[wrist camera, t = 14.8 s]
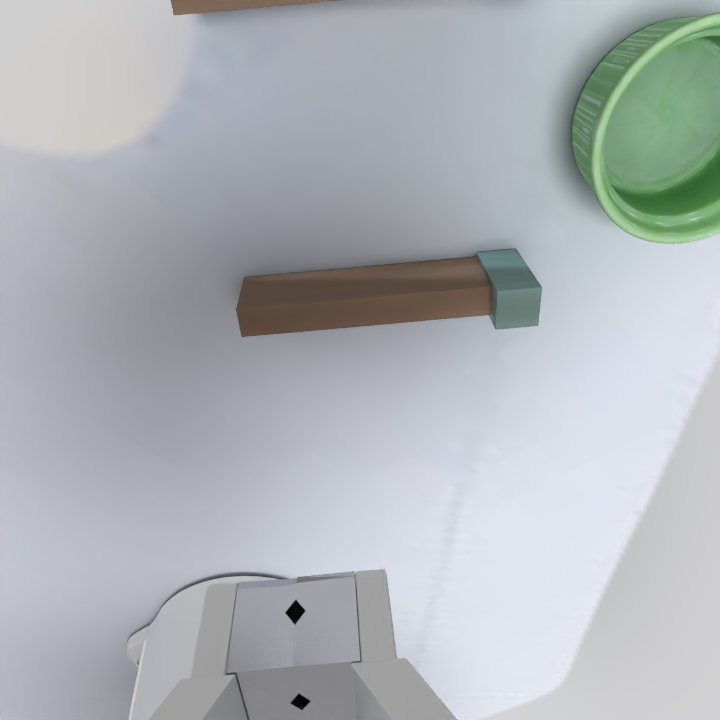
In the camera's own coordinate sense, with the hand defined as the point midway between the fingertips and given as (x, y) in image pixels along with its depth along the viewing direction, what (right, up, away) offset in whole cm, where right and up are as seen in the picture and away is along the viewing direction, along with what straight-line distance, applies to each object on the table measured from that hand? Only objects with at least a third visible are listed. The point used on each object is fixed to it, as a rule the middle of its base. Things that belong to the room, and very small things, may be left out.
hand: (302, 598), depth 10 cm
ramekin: (+15, +15, +18) cm, 28 cm away
